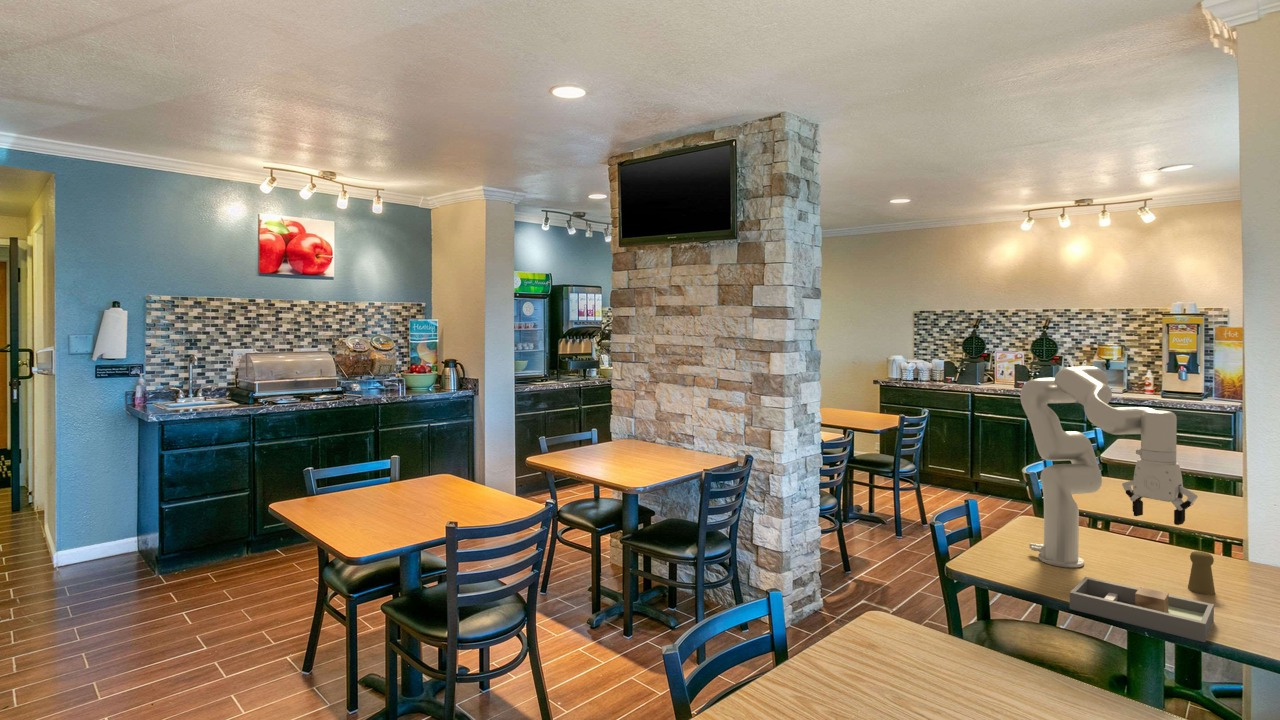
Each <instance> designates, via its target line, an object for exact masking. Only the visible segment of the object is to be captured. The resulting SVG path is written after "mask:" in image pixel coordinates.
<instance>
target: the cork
mask: <svg viewBox="0 0 1280 720" xmlns="http://www.w3.org/2000/svg"><path fill="white" fill-rule="evenodd" d="M1189 559H1190V561H1191V563H1192V564H1191V567H1190V574H1189V579H1188V585H1187V590H1189V591H1191V592H1194V593H1196V594H1202V595H1209V596H1211V595H1215V594H1216V590H1215V583H1214V576H1213V569H1212V565H1213V564H1214V563H1215V560H1214V557H1213V555H1212V554H1211V553H1210V552H1209V553H1208V552H1205V551H1200V550H1198V551H1197V550H1196V551H1195V550H1194V551H1192V552H1190V555H1189Z"/></svg>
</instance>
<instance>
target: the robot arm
mask: <svg viewBox="0 0 1280 720" xmlns="http://www.w3.org/2000/svg"><path fill="white" fill-rule="evenodd" d="M1108 384H1109V379H1108V376H1107V374H1106V372H1105V371H1104V370H1102V369H1101V368H1100V367H1096V366H1070V367H1064V368H1062V369H1060V370H1058V371H1057V372H1056V374H1055V376H1054V377H1038V378H1034V379H1029V380H1028V381H1026V382H1025V383H1024V384H1023V385H1022V387H1021V390H1020V395H1019V396H1020V403H1021V406H1022V409H1023V411H1024V413H1025V415H1026V417H1027V419H1028V422H1029V424H1030V427H1031V428H1030V429H1031V432H1032V434H1033V438H1034V441H1035V445H1036V450H1037V452H1038V454H1039V456H1040V457H1041V458H1042V459H1043V460H1045V461H1047V462H1048V461H1049V462H1051V461H1052V462H1062V461H1070V462H1071V463H1061V464H1059V463H1058V464H1052V465H1049V466H1046V467H1044V468H1043V469H1042V470H1041V472H1040V476H1039V477H1040V485H1041V488H1042V493H1043V495H1042V496H1043V543H1040V544H1038V543H1034V542H1030V543H1029V549H1030V550H1031V551H1034V552H1039V553H1038V555H1037V556H1038V560H1040V561H1041V562H1042V563H1044V562H1045V564H1046V565H1051V566H1056V567H1059V568H1060V567H1062V568H1070V569H1072V568H1076V569H1077V568H1081V567H1084V565H1085V560H1084V559H1083V558H1081V557H1080V556H1079V548H1080V547H1079V545H1080V544H1079V531H1080V528H1079V525H1080V524H1079V522H1080V513H1079V510H1080V509H1079V506H1078V504H1077V502H1076V500H1075V499H1074V498H1073V495H1077V494H1079V495H1080V494H1083V495H1084V494H1091V493H1092V494H1094V493H1096V492H1098V491H1099V490H1100V489H1101V487H1102V484H1103V479H1102V474H1101V473H1102V472H1101V469H1100V467H1099V463H1098V460H1097V457H1096V454H1095V451H1094V448H1093V445H1092V442H1091V440H1090V439H1089V438H1088V437H1087V435H1085V433H1082V432H1080V431H1075V430H1074V431H1072V430H1071V431H1070V430H1069V431H1065V430H1064V429H1063V427H1062V425H1061V422H1060V418H1059V416H1058V415H1057V413H1056V412H1055V411H1054V410H1053V409H1052V408H1051V407H1050V406H1048V404H1071V403H1077V402H1078V403H1079V404H1081V405H1082V406H1083V410H1084V413H1085V416H1086V418H1087V420H1088V421H1089V422H1090V423H1092V424H1093V425H1094V426H1096V427H1097V428H1098V429H1100V430H1102V431H1104V432H1105V433H1107V434H1111V435H1115V436H1117V435H1140V449H1136V450H1135V454H1136V455H1137V456H1139V458H1140V459H1137V460H1136V464H1135V468H1134V473H1133V479H1132V480H1128V481H1126V482H1122V483H1121V485H1122V487H1123V488H1122V489H1124V491H1125V494H1126V495H1127V496H1128V497H1129V499H1130V501H1131V502H1132V513H1133V517H1140V516H1143V515H1144V501H1143V500H1141V499H1143V498H1146V499H1149V500H1154V501H1155V500H1156V501H1162V502H1168V503H1172V504H1173V506H1174V507H1175V509H1174V510H1173V524H1174V525H1176V526H1181V525H1183V524H1184V523H1185V522H1186V510H1188V508H1189V507H1191V506H1192V505H1194V502H1195V501H1196V500H1197V499H1198V498H1199V497H1198V495H1197V494H1195V493H1194V492H1193V491H1191V490H1189V489H1188V488H1186V487H1184V484H1183V483H1184V481H1183V476H1182V475H1183V473H1182V470H1181V465H1180V463H1178V462H1177V433H1178V432H1177V422H1178V421H1177V419H1178V418H1177V415H1176V414H1175V413H1174V412H1172V411H1170V410H1162V409H1161V410H1157V409H1155V408H1154V409H1153V408H1150V407H1146V406H1138V407H1137V406H1134V407H1133V406H1129V407H1128V406H1127V407H1125V406H1124V407H1121V406H1120V407H1113V406H1111V405H1109V404H1110V401H1111V400H1112V397H1113V396H1112V395H1113V392H1112V389H1111V387H1110V386H1108ZM1184 496H1186V498H1187V499H1186V501H1184V500H1183V497H1184Z"/></svg>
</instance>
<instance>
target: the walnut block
mask: <svg viewBox="0 0 1280 720" xmlns="http://www.w3.org/2000/svg"><path fill="white" fill-rule="evenodd" d="M1169 595H1170V594H1169V593H1168V592H1165V591H1159V590H1156V589H1155V590H1154V589H1150V588H1146V587H1141V586H1140V587H1139V589H1138V590H1137V592H1136V593H1135V606H1139V607H1143V608H1147V609H1152V610H1156V611H1160V612H1165V613H1167V612H1168V596H1169Z"/></svg>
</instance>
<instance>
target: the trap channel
mask: <svg viewBox="0 0 1280 720" xmlns="http://www.w3.org/2000/svg"><path fill="white" fill-rule="evenodd" d="M1139 588H1140V587H1139ZM1139 588H1138V587H1135V586H1130V585H1126V584H1120V583H1116V582H1111V581H1107V580H1101V579H1097V578H1092V577H1087V576H1085V577H1083V578H1082V580H1080V582H1079V583H1077V585H1075V587H1073V588H1072V589H1071V590H1070V591H1069V610H1073V611H1077V612H1080V613H1084V614H1089V615H1093V616H1097V617H1101V618H1105V619H1109V620H1112V621H1118V622H1121V623H1125V624H1129V625H1133V626H1137V627H1141V628H1146V629H1149V630H1153V631H1157V632H1161V633H1164V634H1170V635H1172V636H1173V635H1174V636H1177V637H1181V638H1186V639H1189V640H1193V641H1197V642H1203V643H1206V641H1207V639H1208V636H1209V635H1210V632H1211V629H1212V627H1213V625H1214V621H1215V610H1214V609H1215V605H1214V603H1209V602H1205V601H1200V600H1196V599H1191V598H1190V599H1189V598H1186V597H1182V596H1177V595H1172V594H1169V596H1168V612H1167V613H1165V612H1160V611H1156V610H1152V609H1147V608H1143V607H1139V606H1135V593H1136V592H1137V590H1138V589H1139Z"/></svg>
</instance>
